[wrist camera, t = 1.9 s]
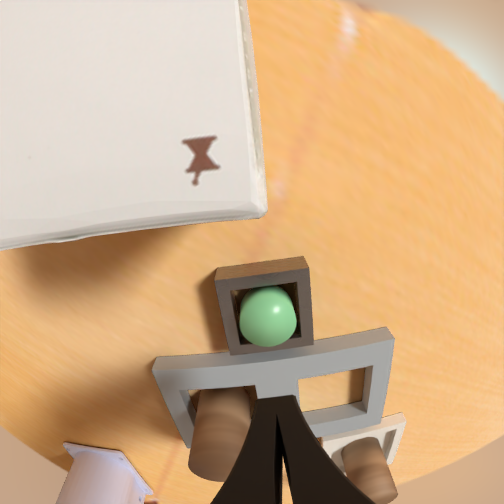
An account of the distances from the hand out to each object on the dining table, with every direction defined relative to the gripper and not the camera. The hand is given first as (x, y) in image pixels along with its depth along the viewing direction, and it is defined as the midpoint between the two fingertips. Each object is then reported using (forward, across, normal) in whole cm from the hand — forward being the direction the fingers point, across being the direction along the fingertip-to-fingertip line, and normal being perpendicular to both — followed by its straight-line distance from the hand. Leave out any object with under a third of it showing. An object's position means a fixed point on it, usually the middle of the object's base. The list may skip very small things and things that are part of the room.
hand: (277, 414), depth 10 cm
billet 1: (+9, +4, +8) cm, 13 cm away
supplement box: (+9, +3, -12) cm, 15 cm away
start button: (+9, 0, 0) cm, 9 cm away
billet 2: (+9, -7, +18) cm, 21 cm away
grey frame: (+9, 0, +8) cm, 12 cm away
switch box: (+9, 0, 0) cm, 9 cm away
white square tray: (+9, -7, +18) cm, 21 cm away
